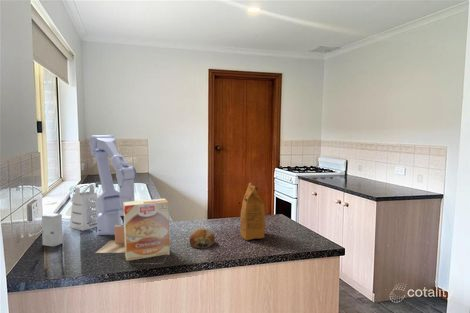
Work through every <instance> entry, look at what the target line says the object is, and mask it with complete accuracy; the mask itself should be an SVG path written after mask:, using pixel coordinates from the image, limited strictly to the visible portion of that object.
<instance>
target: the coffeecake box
mask: <svg viewBox="0 0 470 313" xmlns="http://www.w3.org/2000/svg"><path fill="white" fill-rule="evenodd" d="M123 211H124V223H123V225H124V239H125V253H124V257H125V261H133V260H139V259H147V258H152V257H159V256H164V255H167V256H169V255H171V254H170V249H171V248H170V218H169V217H170V215H169V214H170V213H169V201H168V200H167V199H166V198H155V199H145V200H144V199H143V200H135V201H130V202H123Z"/></svg>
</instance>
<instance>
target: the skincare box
mask: <svg viewBox="0 0 470 313" xmlns="http://www.w3.org/2000/svg"><path fill="white" fill-rule="evenodd" d="M62 216H63V215H62V213H56V212H55V213H52V212H49V213H46V214H42V215H41V234H42V236H41V237H42V245H43V246H47V247H56V246H59V245H61V244H63V225H62V224H63V222H62V221H63V218H62Z"/></svg>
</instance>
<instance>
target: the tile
mask: <svg viewBox="0 0 470 313" xmlns="http://www.w3.org/2000/svg"><path fill="white" fill-rule="evenodd" d="M114 240H115V244H119V243H125V239H124V224H121V225H115V235H114Z"/></svg>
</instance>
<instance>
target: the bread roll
mask: <svg viewBox="0 0 470 313" xmlns="http://www.w3.org/2000/svg"><path fill="white" fill-rule="evenodd" d="M215 239H216V238H215V234H214V232H213V231H212V230H210V229H208V228H204V227H203V228H197V229H196V230H194V231H193V232H192V233H191V234H190V236H189V245H190V247H192V248H195V249H205V248H209V247H212V246H214V244H215V242H216V241H215Z"/></svg>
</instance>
